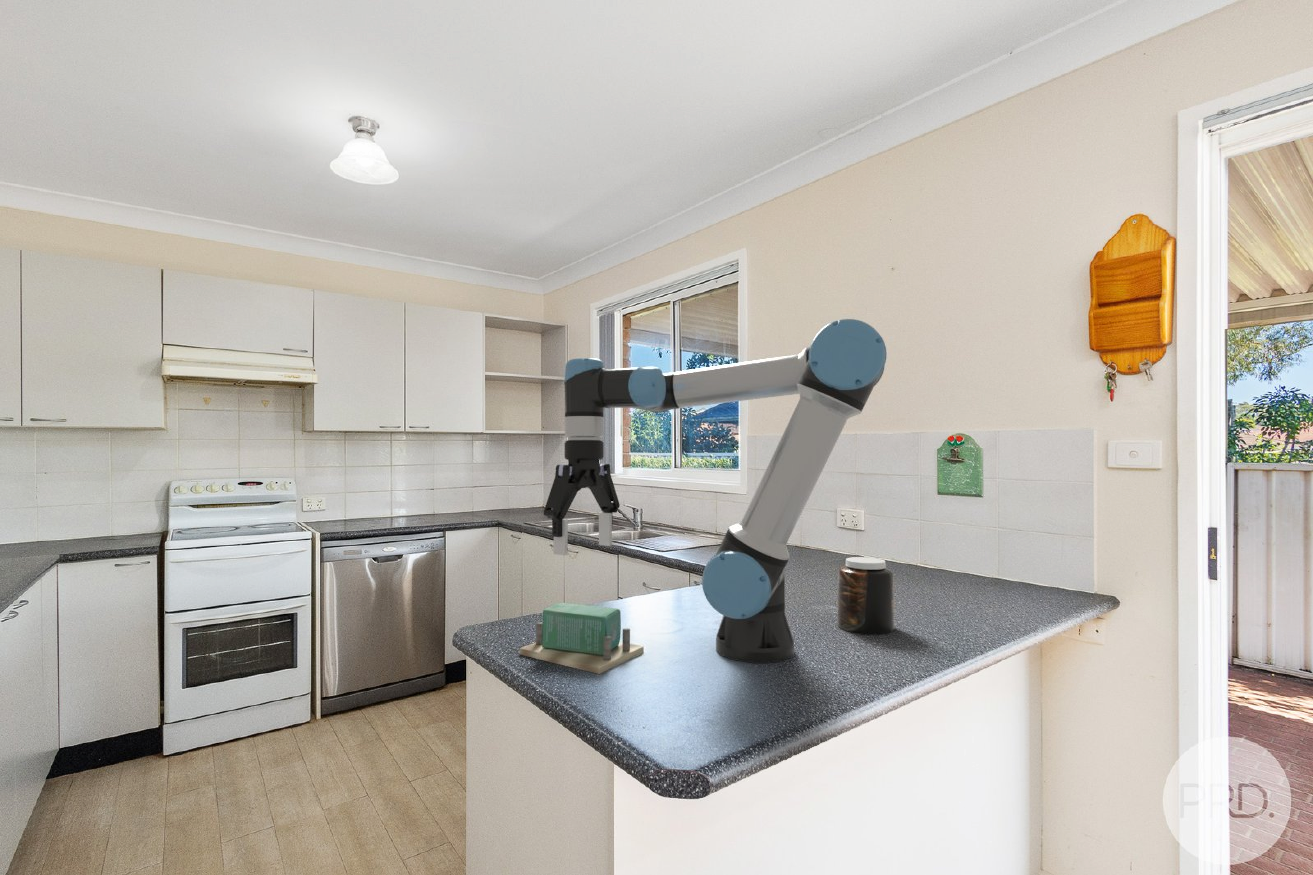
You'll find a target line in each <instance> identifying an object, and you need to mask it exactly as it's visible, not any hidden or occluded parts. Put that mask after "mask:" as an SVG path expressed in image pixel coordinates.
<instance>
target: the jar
mask: <svg viewBox="0 0 1313 875" xmlns="http://www.w3.org/2000/svg"><path fill="white" fill-rule="evenodd" d="M886 565H887V564H886V560H885V559H882V558H877V557H876V558H875V557H867V556H865V557H864V556H854V557H853V556H852V557H847V558H845V565H843V566H841V567H840V568H838V572H837V573H838V574H837V627H838V628H840V629H841V630H843V631H846V632H850V633H856V634H863V635H886V634H890V633H892V632H893V631H894V630H895V589H894V588H895V581H894V580H895V578H894V572H893V571H892V569H889V568H887V566H886Z"/></svg>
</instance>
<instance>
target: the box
mask: <svg viewBox="0 0 1313 875" xmlns="http://www.w3.org/2000/svg"><path fill="white" fill-rule="evenodd" d="M542 623H543V630H542V647H543V648H551V649H559V650H566V651H574V652H582V653H589V654H596V655H603V637H604V636H611V651H612V650H613V649H614V648H616V647H617V646H618V645H619V642H621V632H622V631H621V629H622V624H621V623H622V618H621V610H620V608H613V607H608V606H607V607H605V606H596V605H587V604H578V603H577V604H576V603H567V602H558V603H556V604H553V605H550V606H548V607H546V608H544V609H542Z"/></svg>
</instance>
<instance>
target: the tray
mask: <svg viewBox="0 0 1313 875" xmlns="http://www.w3.org/2000/svg"><path fill="white" fill-rule="evenodd" d="M542 630H543V621H542V622H536V623H535V642H533V643H530V644H527V645H525V646H523V647H520V648H519V655H521V656H524V657H529V658H533V659H536V660H540V661H541V660H542V661H546V662H548V663H553V664H557V665H562V666H566V667H570V668H574V669H578V670H582V671H585V672H589V673H590V672H591V673H594V674H598V675H601V674H602V673H605V672H607V671H608V670H610V669H612V668H615V667H617V666H619V665H621V664H623V663H625V662H627V661H630V660H631V659H633V658H636V657H637V656H640V655H641V654H643V653H645V652H644V649H645V647H644V646H643V645H640V644H639V645H638V644H635V643H631V629H630V628H622V641H620V642H619V645H618V646H617V647H616V648H614V649H613V650H612V651H611V636H604V637H603V655H596V654H589V653H582V652H574V651H566V650H559V649H551V648H543V647H542Z"/></svg>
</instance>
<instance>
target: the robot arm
mask: <svg viewBox="0 0 1313 875" xmlns="http://www.w3.org/2000/svg"><path fill="white" fill-rule="evenodd" d="M886 362H887V346H886V343H885V341H884V338H883V337H882V335H880V333H879V332H878V331H877V330H876V329H875V328H874V327H873V326H872V325H870V324H869V323H867V322H865V321H862V320H859V319H855V318H844V319H838V320H834V321H832V322H830V323H828V324H827V325H825V326H824V327H823V328H820V331H818V332H817V334H816V335H815V337H814V338H813V339H812V341H811V344H810V347H805V348H804V349H803V350H802V351H801V352H800V353H798V354H793V355H785V356H777V357H770V358H765V359H757V360H752V361H751V360H750V361H743V362H742V361H741V362H737V363H730V364H722V365H714V366H709V367H701V368H695V369H694V368H693V369H685V370H682V371H681V370H680V371H675V372H668V373H667V372H665V373H663V372H662V369H661V368H659V367H656V366H644V365H643V366H638V367H635V366H634V367H622V368H605V366H604V362H603V361H602V360H601V359H598V358H594V357H593V358H592V357H588V358H586V357H577V358H572V359H569V360H568V361H567V362H565V370H564V381H563V385H564V437H565V438H567V440H565V442H564V459H565V460H567V461H568V462H567V463H568V464H557V465H556V467H555V475H554V479H553V482H552V485H551V489H550V492H549V495H548V498H547V500H546V504H545V506H544V510H543V516H544V517H547V518H548V519H550V520H551V522H552V523H551V524H552V525H551V535H552V538H553V555H556V556H557V555H558V556H568V555H569V554H568V550H569V549H568V546H569V545H568V541H569V538H568V537H569V536H568V533H569V530H568V528H569V527H568V526H569V522H568V521H569V520H568V518H566V515H567V513H568V511H569V509H570V507H571V505H572V503H573V502H574V499H575V498H576V497H577V496H576V495H577V494H578V492H579V491H581V490H582V489H586V488H587V489H589V490H590V492H591V493H592V495H593V497H594V500H595V501H596V503H597V505H598V507H599V508H600V510H601V512H598V546H605V547H606V546H607V547H611V546H612V545H613V540H612V539H613V526H614V525H613V524H614V523H613V516H614V515H613V513H618V509H619V508H620V505H621V504H620V502H619V497H618V495H617V492H616V488H615V484H614V481H613V478H612V475H611V464H609V463H600V460H604V458H605V457H604V454H605V453H604V449H605V448H604V446H605V445H604V441H603V440H602V439H601V438H604V437H605V420H604V419H605V416H604V411H605V409H612V408H613V409H617V408H619V409H622V408H623V409H624V408H625V409H626V408H627V409H628V408H629V409H630V408H631V409H637V410H642V411H643V410H644V411H649V412H651V413H653V414H655V413H656V414H659V413H660V414H661V413H666V412H669V411H670V410H677V409H684V408H685V409H686V408H691V407H699V406H711V405H718V404H725V403H734V402H742V401H743V402H744V401H751V400H759V399H767V398H775V397H777V398H778V397H784V396H793V395H799V400H798V402H797V404H796V406H795V409H794V411H793V413H792V415H791V417H790V418H789V421H788V423H787V425H786V427H785V429H784V431H783V433H782V435H781V438H780V440H779V441H778V444H777V446H776V448H775V450H774V451H773V452H774V453H773V455H772V457H771V458H770V460H769V463H768V465H767V467H766V469H765V471H764V473H763V476H762V478H761V480H760V482H759V484H758V486H757V488H756V490H755V492H754V495H753V497H752V499H751V501H750V503H749V505H748V507H747V509H746V511H745V513H744V515H743V517H742V519H741V521H739V522H737V523H734V524H732V525H730V526H729V527H728V528H727V531H726V533H725V534H724V536H723V539H722V541H721V543H720V545H719V546H718V549H717V552H716V553H715V555H713V556H712V558H710V560H708V561H707V563H706V566H705V568H704V569H703V572H702V578H701V586H702V591H703V594H704V596H705V599H706V600H707V602H708V604H709V605H710V606H711V607H712V608H713V609H714V610H715V611H716V612H717V613H719V614H721V615H722V619H721V622H720V624H719V627H718V631H717V633H716V638H715V650H716V652H717V653H718V654H720V655H721V656H723V657H725V658H727V659H732V660H734V661H739V662H746V663H759V664H760V663H761V664H762V663H765V664H766V663H776V662H782V661H785V660H788V659H790V658H792V657H793V656H794V655H795V640H794V636H793V634H792V631H791V627H790V624H789V621H788V617H787V615H786V567H787V564H788V563H789V560H790V557H791V555H790V552H789V550H788V546H787V545H788V541H789V540H790V538H791V535H792V533H793V532H794V530H795V527H796V525H797V523H798V521H799V519H800V517H801V515H802V513H803V511H804V509H805V507H806V505H807V503H808V501H809V499H810V497H811V494H812V492H813V491H814V488H815V486H816V484H817V482H818V480H819V478H820V476H821V474H822V472H823V471H824V468H825V466H826V464H827V462H828V459H829V457H830V456H831V454H832V452H833V449H834V448H835V446H836V443H837V442H838V440H839V437H840V435H841V433H842V431H843V430H844V427H845V425H846V423H847V421H848V420H849V419H850V418H853V417H855V416H857V415H860V414H861V413H862V412H863V410H864V407H865V405H866V404H867V401H868V399H869V398H870V395H871V394H872V391H873V390H874V387H875V386H876V385H877V384H878V383H879V381H880V380H881V379H882V376H883V374H884V371H885V366H886V365H885V364H886Z"/></svg>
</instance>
